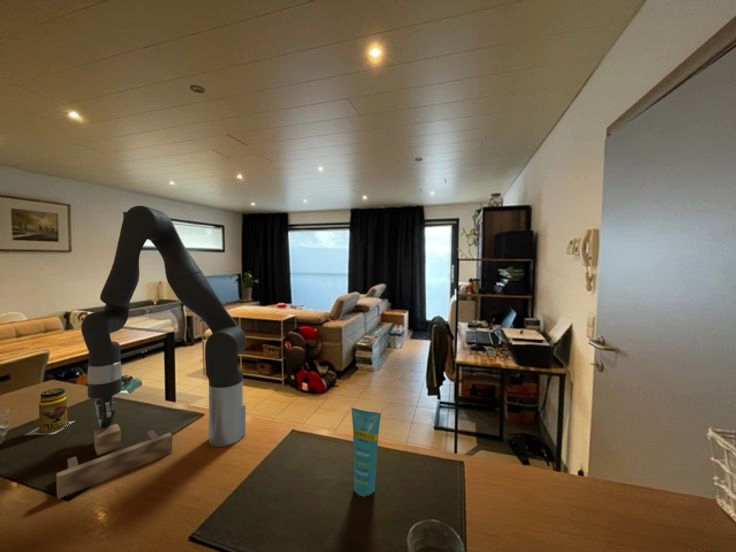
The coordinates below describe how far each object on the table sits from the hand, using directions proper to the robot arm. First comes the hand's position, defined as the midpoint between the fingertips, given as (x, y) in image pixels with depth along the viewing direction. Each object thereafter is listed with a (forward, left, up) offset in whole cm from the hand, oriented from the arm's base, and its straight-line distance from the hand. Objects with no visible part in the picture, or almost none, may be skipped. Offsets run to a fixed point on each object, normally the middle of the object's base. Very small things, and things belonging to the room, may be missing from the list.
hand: (105, 435), depth 88 cm
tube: (-36, +70, -2) cm, 79 cm away
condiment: (+10, -21, -2) cm, 23 cm away
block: (0, +5, -1) cm, 5 cm away
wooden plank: (0, +16, -1) cm, 16 cm away
